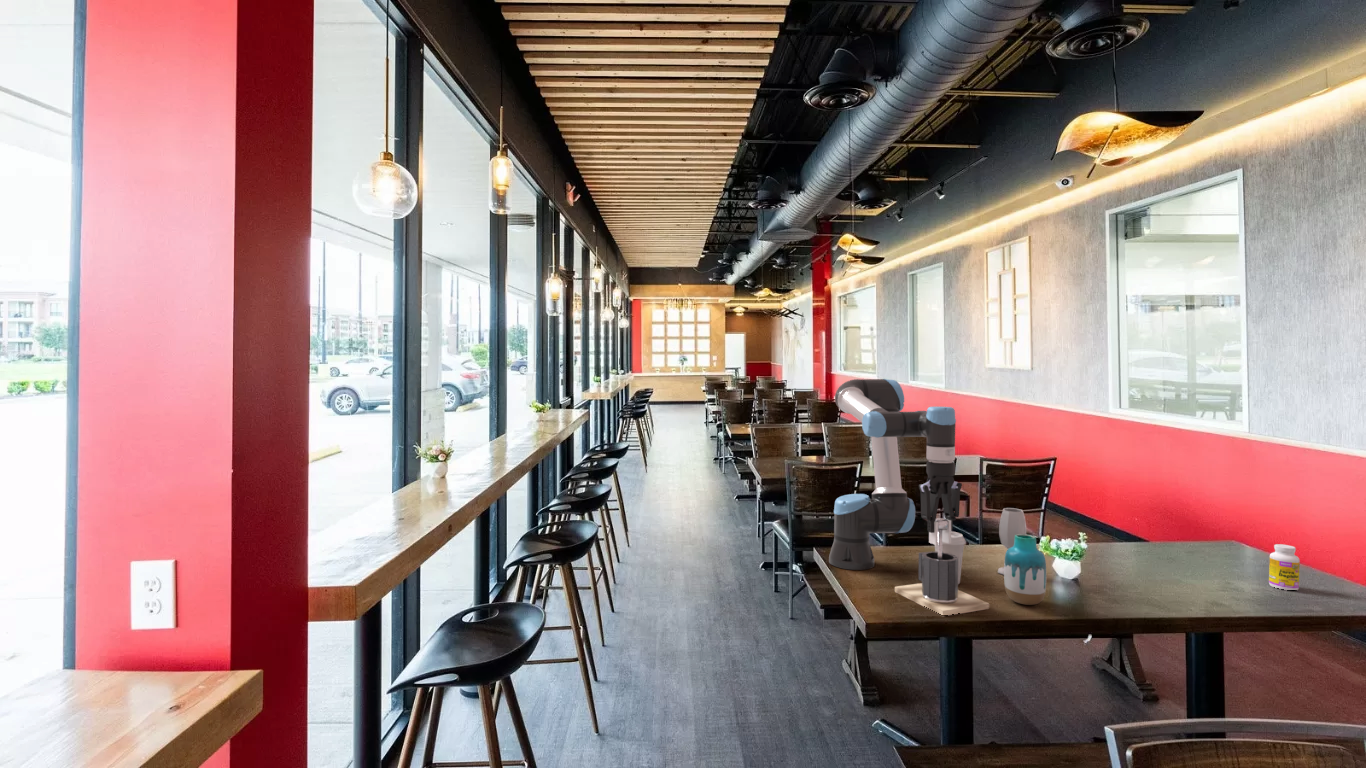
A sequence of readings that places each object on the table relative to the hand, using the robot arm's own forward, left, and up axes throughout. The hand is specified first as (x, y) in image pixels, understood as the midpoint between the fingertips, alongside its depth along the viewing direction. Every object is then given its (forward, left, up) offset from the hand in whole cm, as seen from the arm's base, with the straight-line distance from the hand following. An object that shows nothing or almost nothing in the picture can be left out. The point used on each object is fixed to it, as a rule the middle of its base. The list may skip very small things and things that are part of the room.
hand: (940, 542), depth 179 cm
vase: (+8, +23, -18) cm, 30 cm away
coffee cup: (-14, +16, -18) cm, 28 cm away
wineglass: (-13, +41, -18) cm, 46 cm away
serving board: (-2, +2, -17) cm, 18 cm away
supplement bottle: (+25, +108, -18) cm, 112 cm away
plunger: (0, 0, -14) cm, 14 cm away
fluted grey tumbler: (-1, 0, -16) cm, 16 cm away
